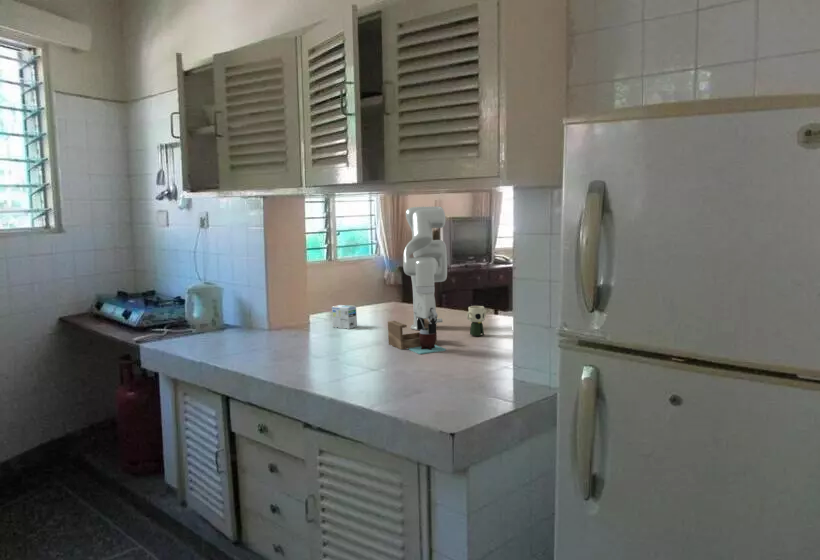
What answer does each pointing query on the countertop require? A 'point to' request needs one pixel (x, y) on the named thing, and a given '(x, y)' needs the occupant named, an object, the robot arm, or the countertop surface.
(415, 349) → the teal mat
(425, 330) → the mate gourd
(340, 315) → the light bulb box
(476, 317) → the character mug
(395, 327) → the walnut box
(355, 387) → the countertop surface
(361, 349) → the countertop surface
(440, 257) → the robot arm
